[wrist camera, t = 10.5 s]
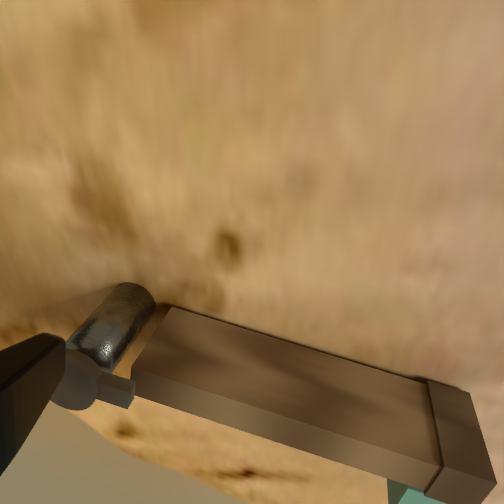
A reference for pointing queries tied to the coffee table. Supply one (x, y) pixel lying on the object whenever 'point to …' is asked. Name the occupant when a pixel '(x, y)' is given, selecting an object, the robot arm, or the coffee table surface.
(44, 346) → the robot arm
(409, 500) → the block
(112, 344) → the hinge post
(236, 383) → the gate
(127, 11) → the coffee table surface
